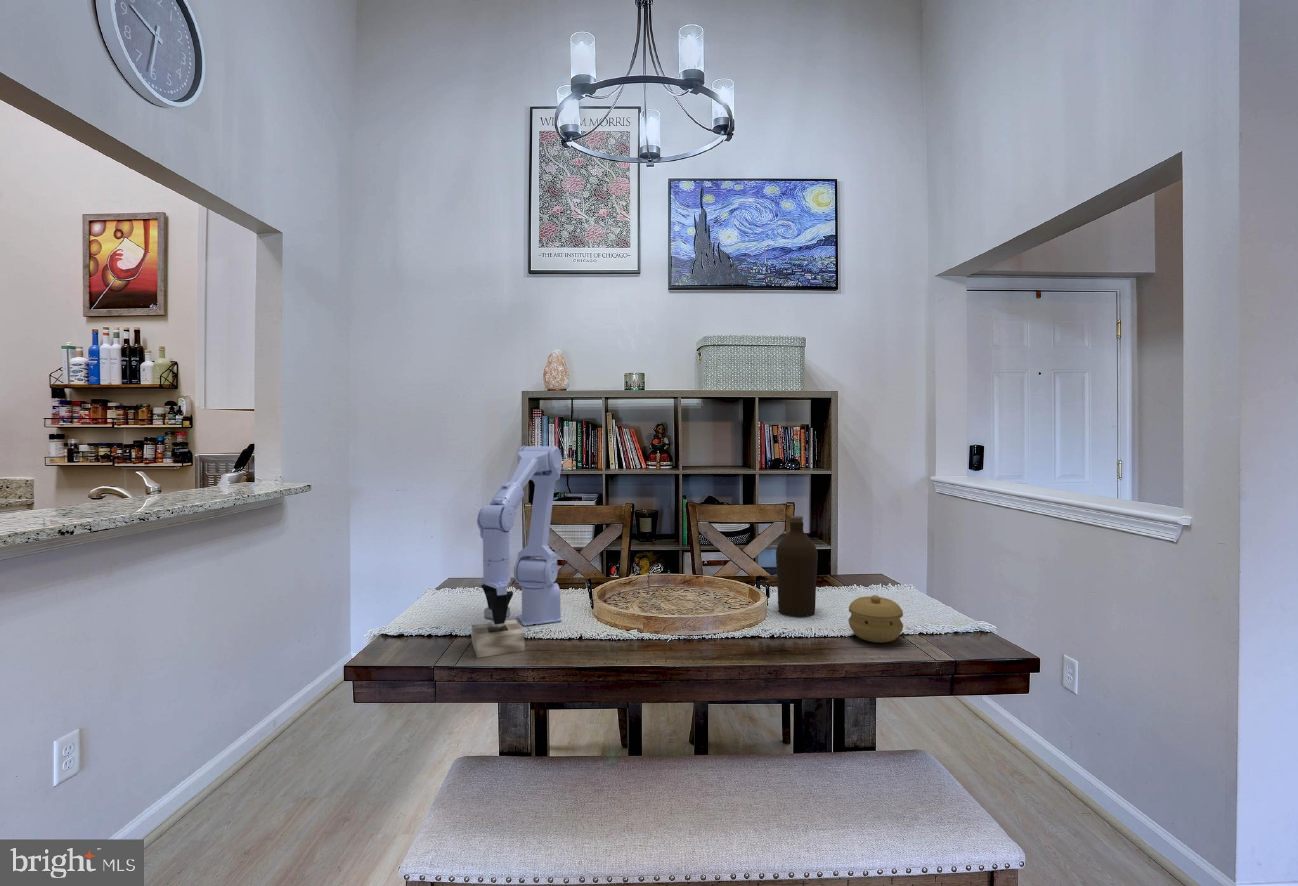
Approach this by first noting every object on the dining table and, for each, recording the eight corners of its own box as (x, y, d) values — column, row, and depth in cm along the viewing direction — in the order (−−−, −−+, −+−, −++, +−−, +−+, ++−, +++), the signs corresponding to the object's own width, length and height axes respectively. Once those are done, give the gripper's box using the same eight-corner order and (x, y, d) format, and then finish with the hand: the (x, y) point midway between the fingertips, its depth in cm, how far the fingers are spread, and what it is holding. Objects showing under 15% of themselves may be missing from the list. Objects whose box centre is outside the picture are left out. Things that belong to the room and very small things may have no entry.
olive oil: (796, 620, 154) (796, 521, 153) (767, 610, 163) (767, 515, 162) (826, 613, 159) (826, 517, 159) (796, 603, 168) (796, 512, 168)
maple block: (516, 636, 144) (515, 619, 144) (524, 650, 135) (524, 632, 135) (471, 642, 140) (471, 625, 140) (477, 657, 131) (477, 639, 131)
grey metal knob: (507, 626, 141) (507, 604, 141) (512, 633, 136) (511, 611, 136) (482, 629, 139) (482, 607, 139) (486, 637, 134) (485, 614, 133)
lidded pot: (879, 628, 148) (879, 586, 148) (915, 644, 137) (915, 599, 137) (837, 633, 144) (837, 591, 144) (870, 651, 133) (870, 605, 133)
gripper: (473, 554, 142) (474, 612, 142) (482, 567, 129) (483, 631, 129) (504, 551, 145) (505, 608, 145) (516, 564, 131) (517, 627, 132)
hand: (497, 619), depth 137 cm, fingers closed on grey metal knob, 6 cm apart
